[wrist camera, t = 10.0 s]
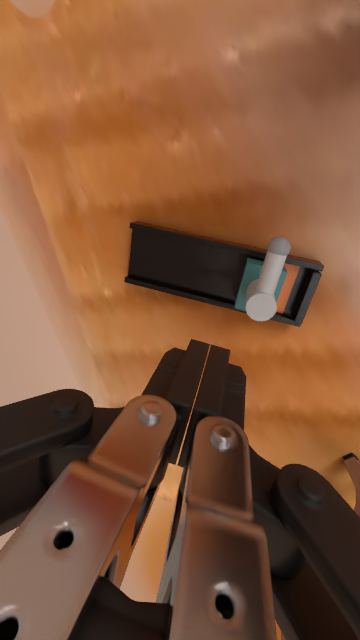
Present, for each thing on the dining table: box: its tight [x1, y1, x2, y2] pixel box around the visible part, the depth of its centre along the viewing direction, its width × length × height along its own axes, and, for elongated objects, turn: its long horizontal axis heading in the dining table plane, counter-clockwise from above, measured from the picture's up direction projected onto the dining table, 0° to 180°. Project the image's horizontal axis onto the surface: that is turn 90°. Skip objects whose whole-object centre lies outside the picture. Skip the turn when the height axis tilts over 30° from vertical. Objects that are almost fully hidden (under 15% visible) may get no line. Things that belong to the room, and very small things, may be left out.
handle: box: [234, 237, 291, 321], centre depth 27 cm, size 8×4×8 cm, turn 170°
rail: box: [124, 221, 324, 327], centre depth 32 cm, size 7×21×3 cm, turn 80°
